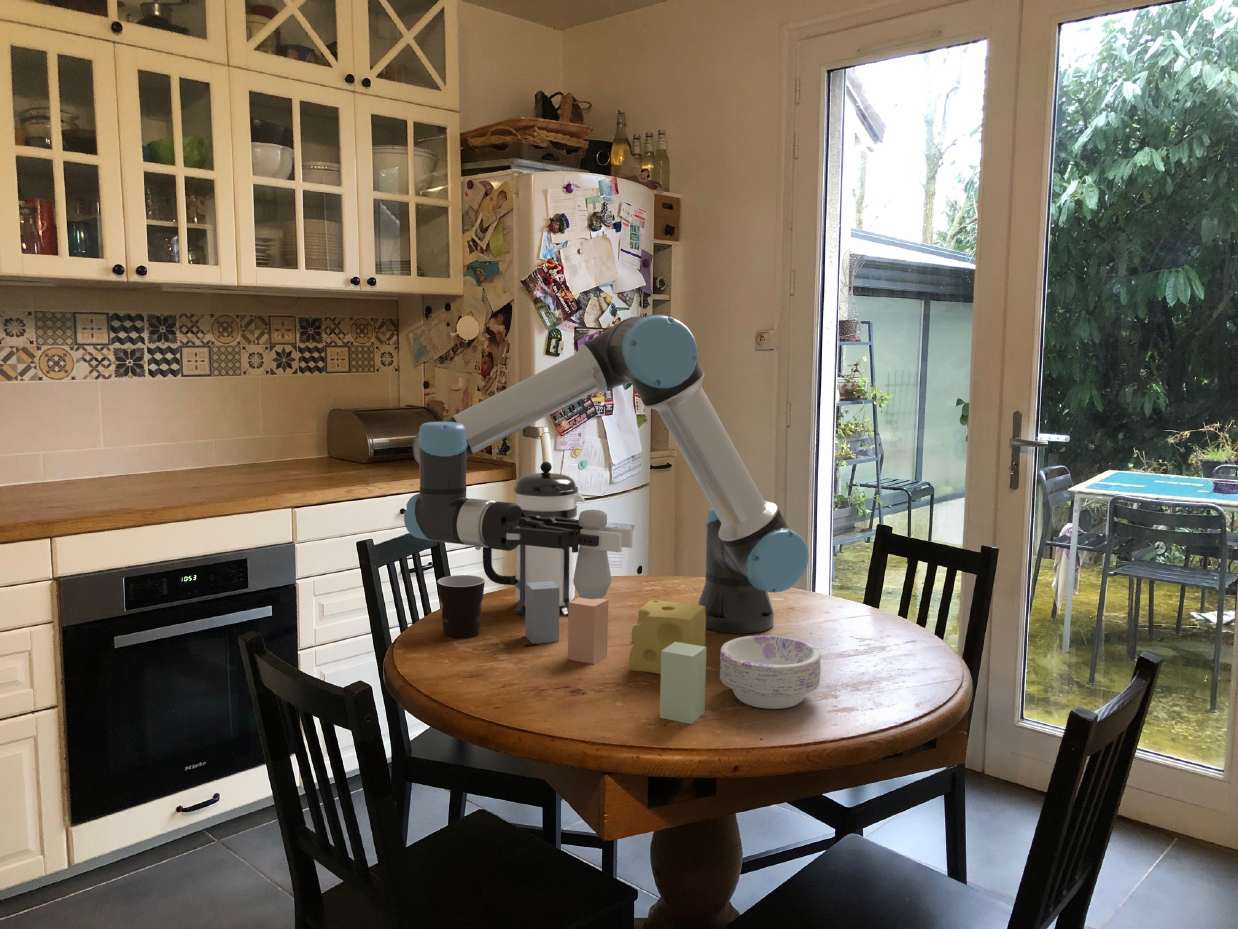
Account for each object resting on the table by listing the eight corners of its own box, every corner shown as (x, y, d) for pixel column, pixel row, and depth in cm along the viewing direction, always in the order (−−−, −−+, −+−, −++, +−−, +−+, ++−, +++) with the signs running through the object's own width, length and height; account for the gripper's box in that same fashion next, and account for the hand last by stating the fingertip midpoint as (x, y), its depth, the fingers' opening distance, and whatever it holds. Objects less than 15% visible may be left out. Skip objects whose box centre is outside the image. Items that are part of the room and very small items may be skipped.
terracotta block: (581, 651, 171) (582, 595, 170) (607, 655, 169) (608, 599, 167) (567, 659, 166) (568, 602, 165) (593, 664, 164) (594, 606, 163)
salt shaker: (615, 592, 149) (616, 508, 147) (605, 602, 144) (607, 515, 142) (578, 589, 150) (579, 506, 149) (567, 598, 145) (568, 512, 143)
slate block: (551, 633, 181) (552, 581, 179) (559, 641, 176) (559, 587, 175) (525, 635, 179) (525, 582, 178) (532, 644, 174) (532, 589, 173)
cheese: (628, 671, 161) (629, 612, 160) (650, 652, 171) (651, 597, 170) (688, 680, 157) (690, 620, 156) (707, 660, 167) (709, 603, 166)
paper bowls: (707, 708, 145) (709, 657, 144) (732, 676, 159) (733, 629, 158) (810, 724, 140) (812, 671, 139) (825, 689, 154) (828, 641, 153)
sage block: (673, 706, 146) (674, 641, 144) (704, 712, 144) (706, 646, 142) (659, 717, 141) (661, 651, 140) (691, 724, 139) (693, 656, 138)
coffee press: (547, 593, 209) (548, 455, 205) (596, 609, 197) (598, 462, 194) (480, 607, 197) (480, 460, 194) (528, 625, 186) (529, 469, 182)
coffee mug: (475, 642, 175) (475, 588, 173) (430, 638, 176) (429, 584, 175) (496, 624, 186) (496, 573, 185) (453, 620, 188) (453, 570, 186)
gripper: (520, 539, 161) (648, 555, 151) (463, 557, 147) (600, 576, 137) (520, 494, 160) (649, 507, 150) (463, 508, 146) (601, 524, 136)
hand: (625, 540), depth 143 cm, fingers closed on salt shaker, 3 cm apart
